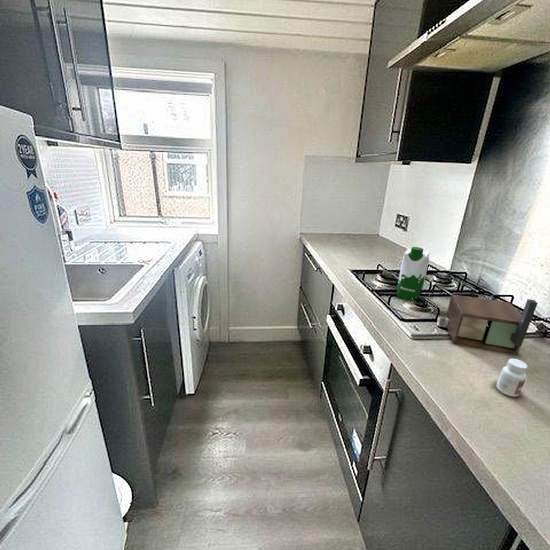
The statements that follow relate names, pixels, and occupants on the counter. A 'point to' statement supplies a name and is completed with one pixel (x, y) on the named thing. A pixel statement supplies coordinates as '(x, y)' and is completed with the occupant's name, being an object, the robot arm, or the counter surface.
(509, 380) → the pill bottle
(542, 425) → the counter surface
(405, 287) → the milk carton
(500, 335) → the sliding door
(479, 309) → the cupboard
